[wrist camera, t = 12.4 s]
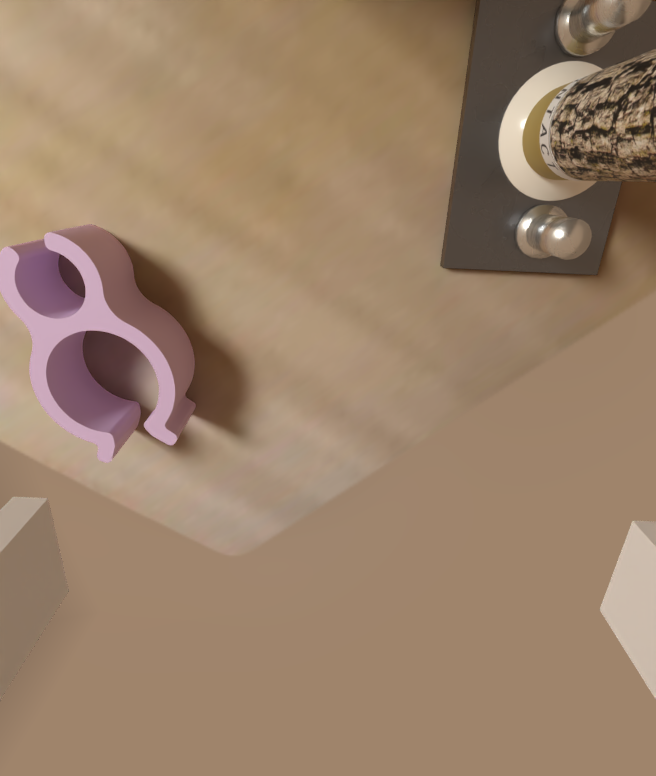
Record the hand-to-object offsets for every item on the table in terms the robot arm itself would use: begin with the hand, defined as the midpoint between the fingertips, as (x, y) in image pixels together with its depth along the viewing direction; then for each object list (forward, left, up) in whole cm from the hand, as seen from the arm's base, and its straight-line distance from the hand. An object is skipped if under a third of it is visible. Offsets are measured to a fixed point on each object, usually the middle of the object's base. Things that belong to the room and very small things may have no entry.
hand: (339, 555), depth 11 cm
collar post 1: (-4, +18, -36) cm, 40 cm away
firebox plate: (-11, +17, -37) cm, 42 cm away
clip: (+7, -20, -37) cm, 43 cm away
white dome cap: (-12, +18, -36) cm, 42 cm away
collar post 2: (-20, +18, -35) cm, 44 cm away
